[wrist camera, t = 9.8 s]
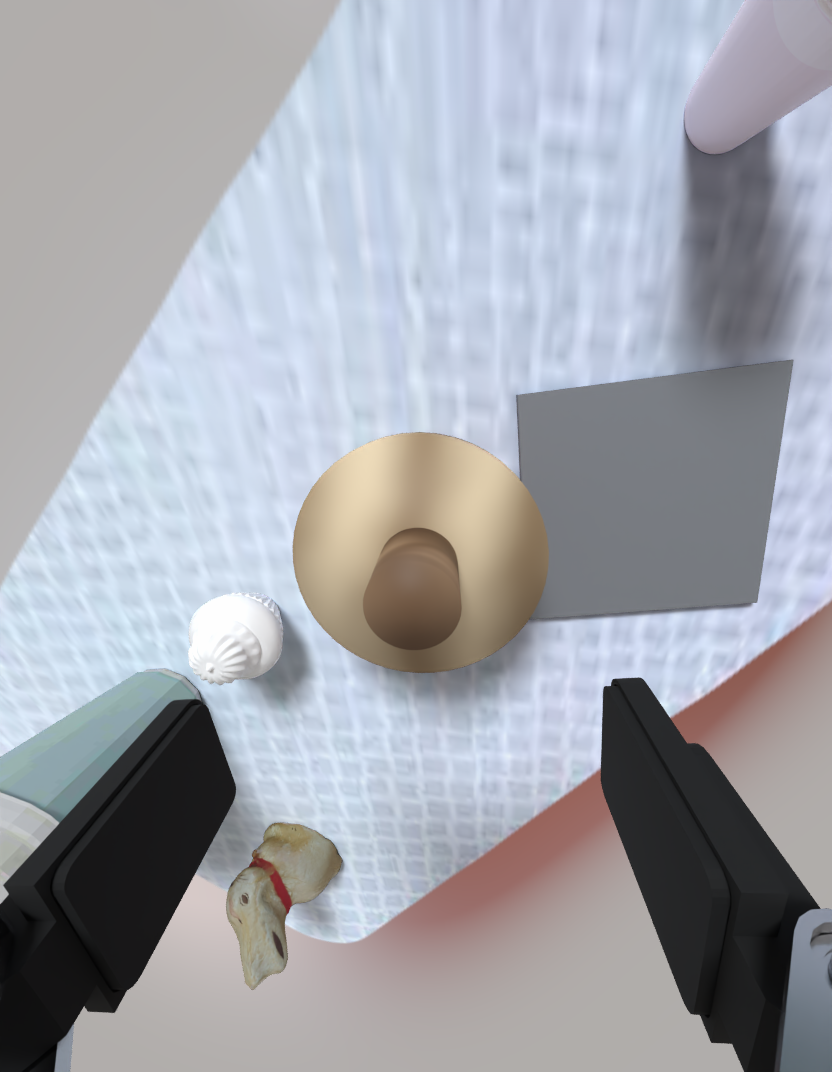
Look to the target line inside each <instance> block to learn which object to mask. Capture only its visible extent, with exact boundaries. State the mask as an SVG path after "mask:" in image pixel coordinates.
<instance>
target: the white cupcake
mask: <svg viewBox="0 0 832 1072" xmlns="http://www.w3.org/2000/svg"><path fill="white" fill-rule="evenodd" d="M189 642H190V646H191V647H190V649H189V651H188V656H189V665H190V667H191V668H193V672H194V674H196V675H200V678H201V680H208V682H209V683H210V684H213V683H214V682H216V683H217V684H218V685H223V684H224V683H225V682H226V683H232V682H233V681H234V680H235V679H251V678H255V677H258V676H260V675H262V674H264V673H266V672H267V671H268V670H270V669H271V668H272V667H273V666H274V665H275V664H276V662H277V661H278V659H279V658H280V655H281V652H282V646H283V625H282V620H281V616H280V612H279V609H278V607H277V605H275V602H273V601H272V599H269V597H268V596H266V595H262V594H261V593H231V594H226V595H224V596H220V597H217V598H214V599H212V600H210V601H208V602H207V603H205V604H204V605H202V606H201V607H200V608H199V609H198V610H197V611H196V612H195V614H194V615H193V617H192V619H191V622H190V626H189Z"/></svg>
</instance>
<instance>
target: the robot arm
mask: <svg viewBox="0 0 832 1072" xmlns="http://www.w3.org/2000/svg"><path fill="white" fill-rule="evenodd" d="M601 784H602V789H603V793H604V796H605V799H606V802H607V804H608V807H609V809H610V812H611V815H612V817H613V820H614V822H615V825H616V827H617V830H618V833H619V835H620V838H621V841H622V843H623V846H624V848H625V851H626V854H627V856H628V859H629V861H630V864H631V867H632V869H633V872H634V875H635V877H636V880H637V882H638V885H639V888H640V890H641V893H642V895H643V898H644V901H645V903H646V906H647V908H648V911H649V913H650V916H651V919H652V921H653V924H654V927H655V929H656V932H657V934H658V937H659V940H660V942H661V945H662V947H663V950H664V953H665V955H666V958H667V961H668V963H669V966H670V968H671V971H672V974H673V976H674V979H675V981H676V984H677V986H678V989H679V992H680V994H681V997H682V999H683V1001H684V1004H685V1006H686V1007H687V1009H688V1011H689V1012H690V1013H691V1014H694V1015H695V1014H696V1015H700V1016H701V1018H702V1021H703V1024H704V1026H705V1029H706V1031H707V1033H708V1036H709V1038H710V1041H711V1043H728V1044H729V1043H730V1044H733V1047H734V1049H735V1051H736V1054H737V1056H738V1058H739V1061H740V1063H741V1065H742V1068H743V1070H744V1072H832V909H829V908H825V909H820V907H819V906H818V904H817V903H816V902H815V900H814V899H813V897H812V896H811V895H810V893H809V892H808V891H807V889H806V888H805V886H804V885H803V884H802V882H801V881H800V879H799V878H798V877H797V875H796V874H795V872H794V871H793V870H792V868H791V867H790V865H789V864H788V863H787V861H786V860H785V859H784V857H783V856H782V854H781V853H780V852H779V850H778V849H777V847H776V846H775V845H774V843H773V842H772V841H771V839H770V838H769V837H768V835H767V834H766V832H765V831H764V829H763V828H762V827H761V825H760V824H759V823H758V821H757V820H756V818H755V817H754V815H753V814H752V813H751V811H750V810H749V809H748V807H747V806H746V804H745V803H744V802H743V800H742V799H741V798H740V796H739V795H738V793H737V792H736V790H735V789H734V788H733V786H732V785H731V784H730V782H729V781H728V779H727V778H726V777H725V775H724V774H723V772H722V771H721V770H720V768H719V767H718V765H717V764H716V763H715V761H714V760H713V759H712V757H711V756H710V755H709V753H708V752H707V751H706V750H705V749H704V747H702V746H700V745H699V744H695V743H691V744H687V743H686V741H685V740H684V738H683V737H682V735H681V734H680V732H679V731H678V729H677V728H676V726H675V725H674V723H673V722H672V720H671V719H670V717H669V716H668V715H667V713H666V712H665V710H664V709H663V707H662V706H661V704H660V703H659V701H658V700H657V698H656V697H655V695H654V694H653V692H652V691H651V689H650V688H649V687H648V685H647V684H646V682H645V681H644V680H643V679H642V678H622V679H613V680H612V683H611V686H605V687H604V690H603V717H602V751H601ZM235 793H236V786H235V782H234V779H233V777H232V774H231V771H230V768H229V765H228V763H227V760H226V757H225V754H224V751H223V749H222V746H221V743H220V740H219V737H218V735H217V732H216V729H215V726H214V723H213V721H212V718H211V715H210V712H209V709H208V708H207V706H206V705H203V703H202V702H201V701H200V700H199V699H182V700H173V701H171V702H170V703H169V704H168V705H167V706H166V707H165V708H164V709H163V710H162V711H161V712H160V713H159V714H158V716H157V717H156V718H155V719H154V720H153V721H152V722H151V723H150V724H149V725H148V727H147V728H146V729H145V730H144V731H143V732H142V733H141V734H140V735H139V736H138V738H137V739H136V740H135V741H134V742H133V743H132V744H131V745H130V746H129V747H128V749H127V750H126V751H125V752H124V753H123V754H122V755H121V756H120V757H119V758H118V759H117V761H116V762H115V763H114V764H113V765H112V766H111V767H110V768H109V769H108V770H107V772H106V773H105V774H104V775H103V776H102V777H101V778H100V779H99V780H98V781H97V783H96V784H95V785H94V786H93V787H92V788H91V789H90V790H89V791H88V792H87V794H86V795H85V796H84V797H83V798H82V799H81V800H80V801H79V802H78V803H77V804H76V806H75V807H74V808H73V809H72V810H71V811H70V812H69V813H68V814H67V815H66V817H65V818H64V819H63V820H62V821H61V822H60V823H59V824H58V825H57V826H56V828H55V829H54V830H53V831H52V832H51V833H50V834H49V835H48V836H47V837H46V839H45V840H44V841H43V842H42V843H41V844H40V845H39V846H38V847H37V848H36V850H35V851H34V852H33V853H32V854H31V855H30V856H29V857H28V858H27V859H26V860H25V862H24V863H23V864H22V865H21V866H20V867H19V868H18V869H17V870H16V871H15V873H14V874H13V875H12V876H11V877H10V878H9V879H8V880H7V881H6V882H5V884H4V885H3V886H4V888H5V889H6V891H7V892H8V894H9V895H8V896H7V897H6V898H5V899H4V900H3V902H2V903H1V904H0V1072H70V1067H71V1055H72V1042H73V1029H74V1022H75V1020H76V1019H77V1017H78V1015H79V1014H80V1012H81V1010H82V1009H83V1007H84V1006H85V1008H86V1009H87V1011H90V1012H109V1013H114V1012H115V1011H116V1009H117V1008H118V1006H119V1004H120V1002H121V1000H122V998H123V997H124V995H125V993H126V991H127V990H129V989H130V988H131V987H133V986H134V984H135V983H136V982H137V981H138V979H139V978H140V976H141V974H142V972H143V970H144V969H145V967H146V965H147V963H148V961H149V959H150V957H151V955H152V954H153V952H154V950H155V948H156V946H157V944H158V942H159V940H160V939H161V937H162V935H163V933H164V931H165V929H166V927H167V925H168V924H169V921H170V920H171V918H172V916H173V914H174V912H175V910H176V908H177V907H178V905H179V903H180V901H181V899H182V897H183V895H184V893H185V892H186V890H187V888H188V886H189V884H190V882H191V880H192V878H193V876H194V875H195V873H196V871H197V869H198V867H199V865H200V863H201V862H202V860H203V858H204V856H205V854H206V852H207V850H208V848H209V846H210V845H211V843H212V841H213V839H214V837H215V835H216V833H217V831H218V830H219V828H220V826H221V824H222V822H223V820H224V818H225V816H226V815H227V813H228V811H229V809H230V807H231V805H232V803H233V801H234V798H235Z"/></svg>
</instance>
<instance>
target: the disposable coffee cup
mask: <svg viewBox="0 0 832 1072" xmlns="http://www.w3.org/2000/svg"><path fill="white" fill-rule="evenodd" d="M182 699H199V700H200V701H201V698H200V695H199V692H198V690H197V689H196V688H195V687H194V686H193V685H192V684H191V683H190V682H189V681H188V680H187V679H186V678H185V677H184V676H182V675H179V674H177V673H174V672H172V671H169V670H167V669H153V670H146V671H144V672H140V673H136V674H134V675H133V676H131V677H130V678H128V679H126V680H125V681H123V682H121V683H120V684H118V685H117V686H115V687H113V688H112V689H110V690H108V691H107V692H105V693H104V694H102V695H100V696H99V697H97V698H95V699H94V700H92V701H91V702H89V703H87V704H86V705H84V706H82V707H81V708H79V709H78V710H76V711H74V712H73V713H71V714H69V715H68V716H66V717H65V718H63V719H61V720H60V721H58V722H56V723H55V724H53V725H52V726H50V727H48V728H47V729H45V730H43V731H42V732H40V733H39V734H37V735H35V736H34V737H32V738H30V739H29V740H27V741H26V742H24V743H22V744H21V745H19V746H17V747H16V748H14V749H13V750H11V751H9V752H8V753H6V754H4V755H3V756H1V757H0V904H1V903H2V902H3V900H4V899H5V898H6V897H7V896H8V895H9V894H8V892H7V891H6V889H5V888H4V886H3V885H4V884H5V882H6V881H7V880H8V879H9V878H10V877H11V876H12V875H13V874H14V873H15V871H16V870H17V869H18V868H19V867H20V866H21V865H22V864H23V863H24V862H25V860H26V859H27V858H28V857H29V856H30V855H31V854H32V853H33V852H34V851H35V850H36V848H37V847H38V846H39V845H40V844H41V843H42V842H43V841H44V840H45V839H46V837H47V836H48V835H49V834H50V833H51V832H52V831H53V830H54V829H55V828H56V826H57V825H58V824H59V823H60V822H61V821H62V820H63V819H64V818H65V817H66V815H67V814H68V813H69V812H70V811H71V810H72V809H73V808H74V807H75V806H76V804H77V803H78V802H79V801H80V800H81V799H82V798H83V797H84V796H85V795H86V794H87V792H88V791H89V790H90V789H91V788H92V787H93V786H94V785H95V784H96V783H97V781H98V780H99V779H100V778H101V777H102V776H103V775H104V774H105V773H106V772H107V770H108V769H109V768H110V767H111V766H112V765H113V764H114V763H115V762H116V761H117V759H118V758H119V757H120V756H121V755H122V754H123V753H124V752H125V751H126V750H127V749H128V747H129V746H130V745H131V744H132V743H133V742H134V741H135V740H136V739H137V738H138V736H139V735H140V734H141V733H142V732H143V731H144V730H145V729H146V728H147V727H148V725H149V724H150V723H151V722H152V721H153V720H154V719H155V718H156V717H157V716H158V714H159V713H160V712H161V711H162V710H163V709H164V708H165V707H166V706H167V705H168V704H169V703H170V702H171V701H173V700H182ZM201 702H202V701H201Z"/></svg>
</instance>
